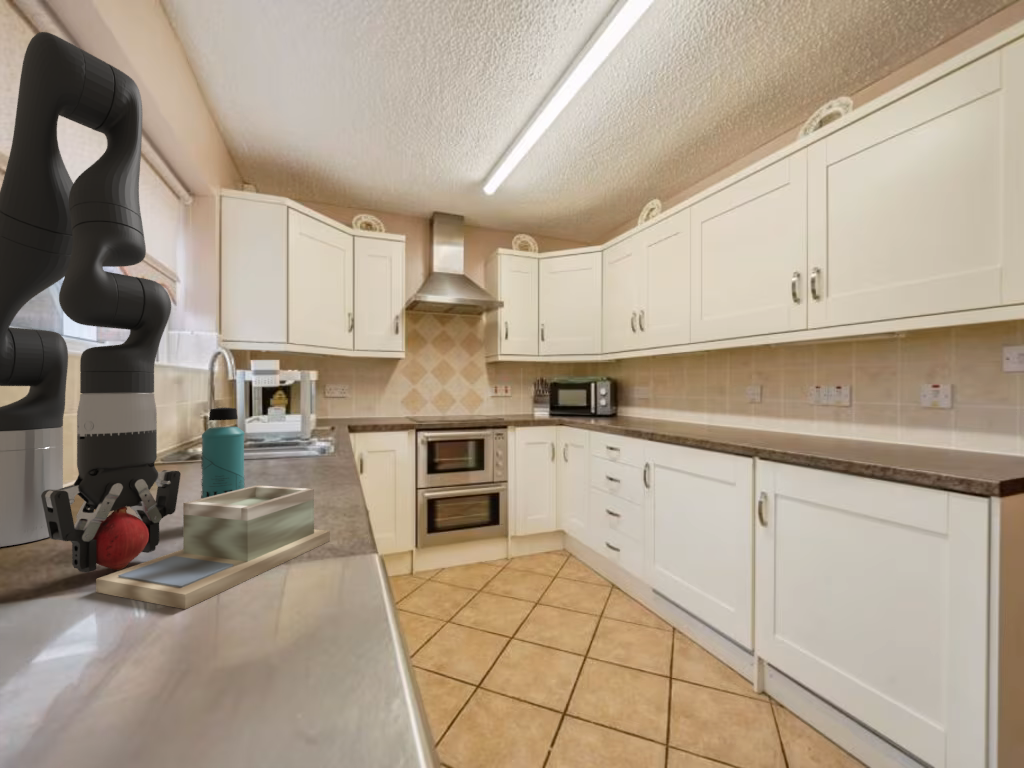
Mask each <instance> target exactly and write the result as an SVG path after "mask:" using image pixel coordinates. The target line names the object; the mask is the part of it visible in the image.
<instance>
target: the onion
mask: <svg viewBox="0 0 1024 768" xmlns="http://www.w3.org/2000/svg"><path fill="white" fill-rule="evenodd" d="M127 510H128V507H122V508H120V509H118V510H114V511H112V512H111V513H109V514H108V516H107V518H106V520H105V521H103V522H102V523H101V524H100V526H99V528H98V530H97V532H96V534H95V536H94V538H93V539H94V540H97V550H96V565H98V566H101V567H104V568H107V569H111V570H114V571H120V570H123V569H125V568H127V566H128V565H129V564H130V563H131V562H132V561H133V560H134V559H135V558H137V557H138V556H139V555H140V554H141V553H143V552H142V551H143V550H144V548H145V546H146V544H147V542H148V539H149V532H148V528H147V526H146V525H145V523H144V522H143V521H142V520H140V519H139V517H138V516H137V515H136V516H135V515H134V514H130V513H128V512H127Z"/></svg>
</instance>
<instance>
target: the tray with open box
mask: <svg viewBox="0 0 1024 768" xmlns="http://www.w3.org/2000/svg"><path fill="white" fill-rule="evenodd" d="M182 505H183V506H182V507H183V510H182V511H183V512H182V515H183V525H182V527H183V529H182V530H183V531H182V533H183V536H182V537H183V541H182V542H183V543H182V545H183V547H182V548H183V549H180V550H176V551H173V552H171V553H167V554H165V555H162V556H159V557H156V558H153V559H150V560H147V561H144V562H141V563H139V564H135V565H132V566H130V567H125V568H123V569H120V570H116V571H115V572H111V573H109V574H107V575H106V574H105V575H103V576H101V577H98V578H96V579H95V593H99V594H104V595H109V596H115V597H120V598H125V599H131V600H135V601H141V602H145V603H151V604H157V605H162V606H167V607H172V608H177V609H181V610H187V609H189V608H191V607H194V606H195V605H197V604H199V603H201V602H203V601H206V600H208V599H210V598H212V597H214V596H217V595H218V594H222V593H223V592H225V591H227V590H230V589H231V588H234V587H235V586H238V585H239V584H242V583H244V582H246V581H248V580H250V579H253V578H254V577H256V576H258V575H261V574H263V573H266V572H267V571H269V570H272V569H273V568H275V567H277V566H280V565H282V564H284V563H286V562H289V561H290V560H292V559H294V558H296V557H299V556H301V555H303V554H305V553H308V552H309V551H312V550H314V549H316V548H318V547H320V546H322V545H325V544H326V543H329V542H330V540H331V538H330V536H331V531H330V530H326V529H324V530H323V529H315V489H314V488H305V487H302V488H301V487H289V486H271V485H258V484H257V485H256V484H255V485H251V486H248V487H244V488H243V489H239V490H235V491H231V492H227V493H223V494H218V495H214V496H210V497H206V498H202V499H201V498H199V499H193V500H191V501H190V500H189V501H185V502H183V504H182Z"/></svg>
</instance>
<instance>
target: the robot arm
mask: <svg viewBox="0 0 1024 768" xmlns="http://www.w3.org/2000/svg"><path fill="white" fill-rule="evenodd" d="M20 72H21V73H20V79H19V80H20V81H19V85H18V94H17V102H16V103H17V104H16V105H17V106H16V112H15V121H14V126H13V127H14V128H13V137H12V141H11V148H10V153H9V156H8V159H7V160H8V161H7V164H6V167H5V168H6V169H5V173H4V176H3V181H2V182H1V183H2V184H1V188H0V387H29V390H28V393H27V394H26V395H25V396H24V397H22V398H20V399H19V400H16V401H14V402H11V403H9V404H5V405H2V406H0V548H1V547H7V546H9V547H10V546H13V545H14V546H15V545H20V544H26V543H31V542H36V541H40V540H43V539H47V538H49V539H51V540H53V541H56V540H57V541H62V542H71V551H72V552H71V555H72V556H71V563H72V564H71V565H72V567H73V568H74V569H77V570H78V572H81V573H90V572H94V571H96V569H97V563H96V550H97V540H94V539H93V538H94V536H95V534H96V532H97V530H98V528H99V526H100V524H101V523H102V522H103V521H105V520H106V518H107V517H108V516H109V515H110V512H113V511H114V510H118V509H120V508H122V507H127V508H130V509H131V510H133V511H134V512H135V514H136V517H137V518H139V519H140V520H142V521H143V522H144V523H145V525H146V526H147V528H148V532H149V539H148V542H147V544H146V546H145V548H144V550H143V551H142V552H141V553H146V554H147V553H152V552H154V551H155V550H156V547H157V546H158V545H159V543H160V522H161V520H162V519H163V518H165V517H166V516H168V515H172V514H174V513H175V512H176V509H177V501H178V496H179V488H180V481H181V476H182V475H181V471H179V470H170V469H169V470H168V469H167V470H165V469H164V470H161V471H158V470H157V468H156V466H155V462H156V461H157V458H158V457H157V455H158V454H157V453H158V452H157V451H158V450H157V447H158V445H157V443H158V441H157V438H158V437H157V430H158V429H157V428H158V427H157V426H158V425H157V424H158V423H157V422H158V419H157V418H158V417H157V416H158V415H157V412H158V411H157V405H156V398H155V362H156V358H157V353H158V351H159V347H160V343H161V340H162V337H163V334H164V332H165V329H166V327H167V324H168V322H169V319H170V315H171V312H172V301H171V297H170V294H169V292H168V291H167V290H166V288H165V287H164V286H163V285H162V283H160V282H157V281H155V280H152V279H148V278H145V277H144V278H143V277H138V276H132V275H127V274H122V273H117V272H111V271H106V270H105V269H104V268H105V267H106V268H109V267H112V268H113V267H114V268H117V267H118V268H119V267H120V268H121V267H130V266H135V265H138V264H140V263H142V262H143V260H144V259H145V257H146V254H147V252H146V251H147V249H146V240H145V233H144V226H143V222H142V221H143V220H142V214H141V207H140V205H141V204H140V190H139V188H140V175H141V174H140V173H141V159H142V137H143V103H142V102H143V101H142V96H141V92H140V88H139V86H138V85H137V83H136V82H135V80H134V79H133V78H131V76H129V75H128V74H126V73H125V72H123V71H122V70H121V69H119V68H117V67H115V66H114V65H112V64H110V63H108V62H106V61H104V60H102V59H101V58H98V57H97V56H95V55H93V54H91V53H90V52H87V51H86V50H83V49H82V48H80V47H78V46H76V45H74V44H73V43H71V42H70V41H67V40H65V39H63V38H62V37H60V36H58V35H55V34H53V33H51V32H46V31H40V32H37V33H36V34H35V35H34V36H32V38H31V39H30V40H29V43H28V44H27V47H26V51H25V52H24V56H23V61H22V67H21V71H20ZM59 116H60V117H63V118H65V119H67V120H69V121H72V122H74V123H77V124H78V125H82V126H84V127H87V128H89V129H91V130H92V131H96V132H98V133H102V134H103V135H105V138H106V144H107V145H106V150H105V152H103V154H102V155H101V156H99V158H98V159H97V160H96V161H94V163H92V164H91V165H90V166H88V167H87V168H86V169H85V170H84V171H83V172H82V173H81V174H80V175H78V177H77V178H76V179H75V180H74V182H73V180H72V178H71V176H70V174H69V172H68V169H67V168H66V165H65V163H64V160H63V157H62V155H61V151H60V148H59V147H60V146H59V142H58V121H59ZM62 279H63V280H62ZM61 280H62V283H61V286H60V290H59V293H58V294H59V295H58V301H59V306H60V308H61V310H62V312H63V313H64V314H65V315H66V317H67V318H69V319H70V320H71V321H73V322H74V323H76V324H78V325H83V326H87V327H88V326H91V327H99V328H108V329H109V328H110V329H119V330H129V336H127V338H126V340H125V341H124V342H122V343H120V344H113V345H101V346H100V345H99V346H93V347H89V348H87V349H85V350H84V351H82V353H81V356H80V362H79V364H80V366H79V371H80V372H79V373H80V380H79V384H80V385H79V388H80V389H79V392H80V395H79V401H78V407H77V414H76V415H77V416H76V433H77V434H76V468H77V471H78V475H77V478H76V479H75V481H74V483H73V485H69V486H65V487H64V414H65V409H66V391H67V389H66V388H67V379H68V377H67V376H68V366H69V349H68V345H67V342H66V340H65V338H64V337H63V335H62V334H60V333H58V332H56V331H54V330H53V331H51V330H45V329H34V328H24V327H23V328H22V327H12V326H11V324H12V322H13V320H14V319H15V317H16V315H17V314H18V313H19V312H20V310H21V309H22V308H23V307H24V306H25V305H26V304H27V303H28V302H29V301H31V300H32V299H34V297H36V296H37V295H39V294H41V292H44V291H45V290H47V289H49V288H50V287H52V286H53V285H55V284H56V283H58V282H60V281H61ZM10 326H11V327H10ZM154 484H155V485H156V486H157V491H156V495H155V498H154V496H153V495H152V493H151V491H150V490H151V488H152V487H153V486H154ZM76 496H79V497H80V498H81V499H82V501H83V503H82V505H81V506H80V508H79V510H78V512H77V514H76V521H74V518H73V511H72V507H71V506H72V505H73V504H75V498H76Z"/></svg>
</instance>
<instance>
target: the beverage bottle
mask: <svg viewBox="0 0 1024 768" xmlns="http://www.w3.org/2000/svg"><path fill="white" fill-rule="evenodd" d="M237 410H238V409H237V408H236V407H235V408H234V407H215V408H211V409H210V410H209V416H208V417H209V418H208V421H231V420H238V411H237ZM201 440H202V442H201V443H202V447H201V448H200V450H201V451H200V452H201V456H200V460H201V461H200V464H201V467H200V469H201V474H200V475H201V479H200V484H201V491H200V499H202V498H206V497H210V496H214V495H218V494H223V493H227V492H231V491H235V490H239V489H243V488H245V431H244V430H242V429H241V428H240V427H238V426H215V427H208V428H207V429H206V430H204V431H203V433H202V434H201Z"/></svg>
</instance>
